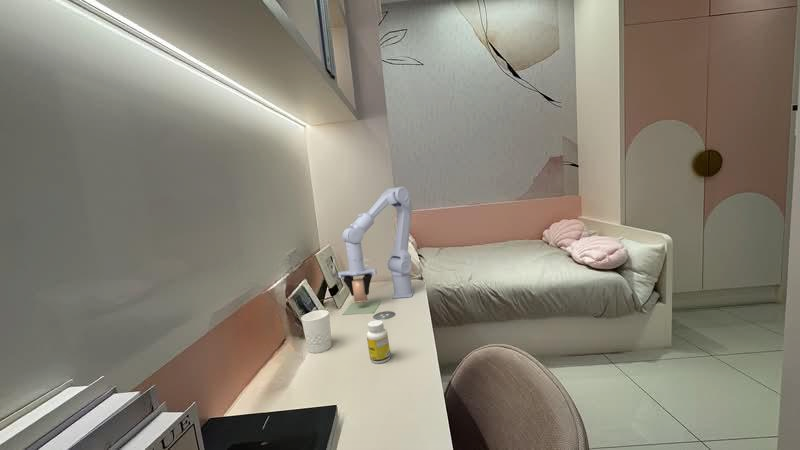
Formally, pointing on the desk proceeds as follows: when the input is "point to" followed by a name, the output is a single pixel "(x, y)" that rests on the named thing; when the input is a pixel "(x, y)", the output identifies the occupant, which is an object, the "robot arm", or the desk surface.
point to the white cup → (317, 331)
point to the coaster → (384, 315)
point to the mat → (362, 308)
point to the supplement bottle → (378, 342)
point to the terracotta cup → (359, 290)
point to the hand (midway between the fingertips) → (360, 294)
